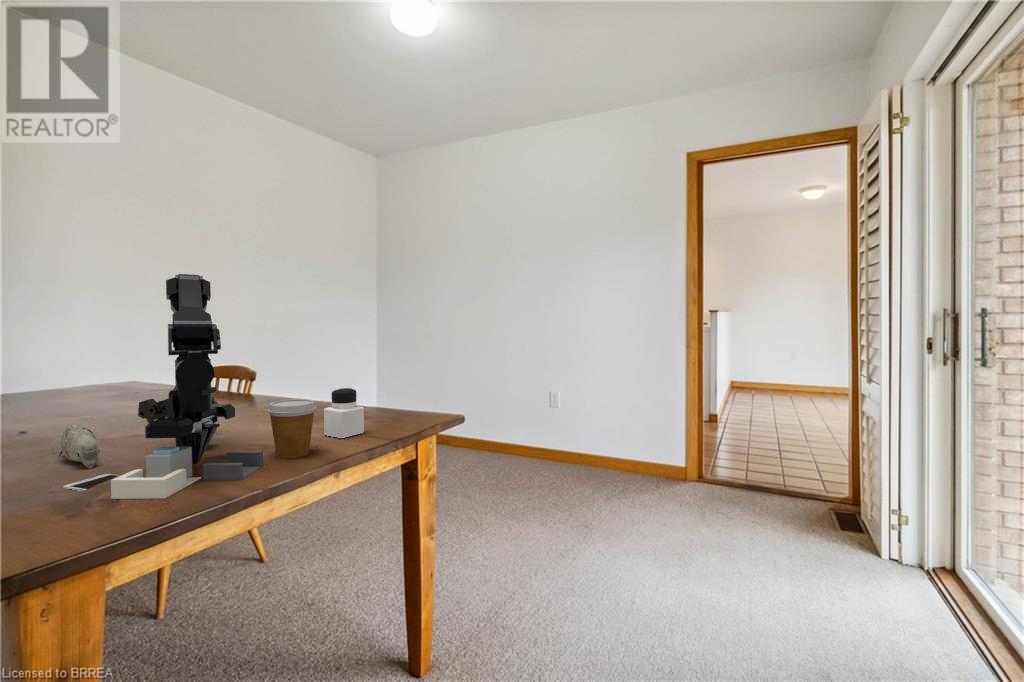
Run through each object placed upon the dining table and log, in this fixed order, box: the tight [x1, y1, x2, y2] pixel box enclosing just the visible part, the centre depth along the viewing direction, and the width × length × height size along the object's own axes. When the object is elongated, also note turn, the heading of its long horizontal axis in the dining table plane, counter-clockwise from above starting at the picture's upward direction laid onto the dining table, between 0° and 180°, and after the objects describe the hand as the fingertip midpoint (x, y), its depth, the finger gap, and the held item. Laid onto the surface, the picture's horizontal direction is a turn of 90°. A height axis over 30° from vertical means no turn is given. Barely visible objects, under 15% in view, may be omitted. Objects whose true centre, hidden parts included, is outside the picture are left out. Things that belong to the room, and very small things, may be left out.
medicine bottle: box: [323, 387, 365, 439], centre depth 123 cm, size 7×7×12 cm
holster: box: [202, 450, 264, 481], centre depth 90 cm, size 9×6×4 cm
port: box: [110, 468, 203, 500], centre depth 82 cm, size 10×8×4 cm
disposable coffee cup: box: [267, 398, 317, 459], centre depth 102 cm, size 10×10×12 cm
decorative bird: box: [58, 420, 100, 470], centre depth 99 cm, size 5×16×7 cm, turn 52°
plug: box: [145, 446, 193, 479], centre depth 85 cm, size 6×4×6 cm, turn 3°
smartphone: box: [62, 473, 121, 492], centre depth 84 cm, size 7×15×1 cm, turn 73°
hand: (195, 463), depth 92 cm, fingers closed
